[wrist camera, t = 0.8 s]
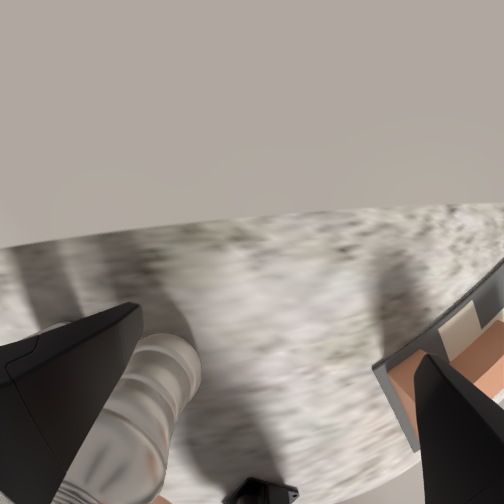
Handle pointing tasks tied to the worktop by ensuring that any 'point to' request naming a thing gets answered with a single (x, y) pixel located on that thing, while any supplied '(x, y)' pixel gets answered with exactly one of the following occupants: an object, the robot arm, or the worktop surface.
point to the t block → (458, 369)
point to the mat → (448, 338)
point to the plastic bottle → (135, 427)
